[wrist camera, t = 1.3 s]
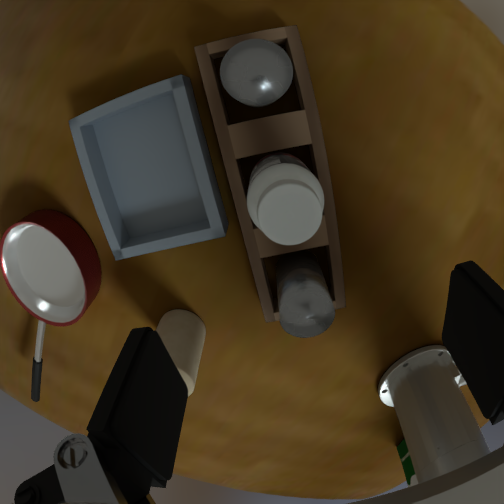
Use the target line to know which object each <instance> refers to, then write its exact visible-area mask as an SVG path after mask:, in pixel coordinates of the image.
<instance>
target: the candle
mask: <svg viewBox="0 0 504 504" xmlns="http://www.w3.org/2000/svg"><path fill="white" fill-rule="evenodd" d="M156 331H157V332H158V334H159V336H160V338H161V339H162V341H163V343H164V345H165V347H166V349H167V351H168V353H169V355H170V356H171V358H172V360H173V362H174V364H175V365H176V367H177V369H178V371H179V373H180V374H181V376H182V378H183V380H184V381H185V383H186V385H187V388H188V396H189V395H191V394H192V392H193V390H194V387H195V382H196V377H197V372H198V368H199V363H200V358H201V354H202V349H203V344H204V340H205V334H206V329H205V325H204V323H203V321H202V320H201V319H200V318H199V317H198V316H197V315H195V314H194V313H192V312H190V311H187V310H182V309H175V310H171V311H168V312H167V313H165V314H164V315H163V317H162V318H161V320H160V322H159V324H158V327H157V329H156Z"/></svg>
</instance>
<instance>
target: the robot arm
mask: <svg viewBox="0 0 504 504" xmlns="http://www.w3.org/2000/svg"><path fill="white" fill-rule="evenodd" d="M442 341H443V344H444V346H441V345H431V346H426V347H422V348H419V349H417V350H414V351H412V352H410V353H408V354H407V355H405V356H403V357H402V358H400V359H399V360H398V361H396V362H395V363H394V364H393V365H392V366H391V367H390V368H389V369H388V370H387V371H386V372H385V373H384V375H383V376H382V378H381V380H380V382H379V385H378V394H379V397H380V399H381V401H382V402H383V403H384V404H386V405H388V406H391V407H394V408H395V411H396V414H397V416H398V419H399V422H400V425H401V429H402V432H403V435H404V438H405V441H406V444H407V447H408V451H409V454H410V457H411V460H412V464H413V467H414V471H415V474H416V478H417V481H418V484H417V485H414V486H411V487H408V488H405V489H402V490H398V491H395V492H392V493H388V494H385V495H381V496H377V497H374V498H370V499H365V500H361V501H357V502H353V503H348V504H504V445H503V446H502V447H501V448H499V449H497V450H495V451H493V452H490V450H489V447H488V445H487V443H486V441H485V438H484V436H483V434H482V432H481V430H480V428H479V425H478V423H477V421H476V419H475V417H474V415H473V413H472V411H471V409H470V407H469V405H468V403H467V401H466V399H465V397H464V395H463V393H462V391H461V389H460V388H459V387H460V386H462V385H466V384H467V385H468V387H469V389H470V391H471V393H472V395H473V396H474V398H475V400H476V402H477V404H478V406H479V408H480V410H481V412H482V414H483V416H484V417H485V418H486V419H490V421H491V423H492V425H494V424H496V423H498V422H500V421H502V420H503V419H504V290H503V289H502V288H501V287H500V286H499V285H498V284H497V283H496V282H495V281H494V280H493V279H492V278H491V277H490V276H489V275H488V274H487V273H485V272H484V271H483V270H482V269H481V268H480V267H479V266H478V265H477V264H476V263H475V262H473V261H467V262H464V263H460V264H457V265H456V266H455V268H454V270H453V271H452V272H451V276H450V285H449V293H448V301H447V308H446V314H445V320H444V326H443V331H442ZM455 364H456V366H457V367H456V366H455ZM187 398H188V388H187V385H186V383H185V381H184V380H183V378H182V376H181V374H180V373H179V371H178V369H177V367H176V365H175V364H174V362H173V360H172V358H171V356H170V355H169V353H168V351H167V349H166V347H165V345H164V343H163V341H162V339H161V338H160V336H159V334H158V332H157V331H153V330H152V328H150V327H143V328H135V329H132V330H131V332H130V334H129V336H128V338H127V340H126V342H125V344H124V346H123V348H122V350H121V352H120V355H119V357H118V359H117V361H116V363H115V365H114V367H113V369H112V372H111V374H110V376H109V378H108V380H107V383H106V385H105V387H104V389H103V392H102V394H101V396H100V398H99V401H98V403H97V405H96V408H95V410H94V412H93V415H92V417H91V419H90V422H89V424H88V427H87V430H88V432H89V433H88V436H87V437H86V436H85V435H83V434H72V435H69V436H67V437H66V438H64V439H63V440H61V442H60V443H59V444H58V445H57V447H56V449H55V451H54V456H53V457H54V464H53V465H52V466H50V467H48V468H47V469H45V470H43V471H42V472H40V473H38V474H37V475H35V476H33V477H31V478H30V479H28V480H26V481H24V482H23V483H22V484H20V486H19V487H18V488H17V490H16V493H15V498H14V500H15V504H156V503H155V502H154V500H153V499H152V497H151V495H150V494H149V491H150V487H151V486H152V487H162V488H166V483H167V480H170V479H171V477H172V473H173V468H174V462H175V457H176V452H177V447H178V442H179V437H180V432H181V427H182V422H183V417H184V412H185V408H186V403H187ZM11 504H13V503H11Z"/></svg>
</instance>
